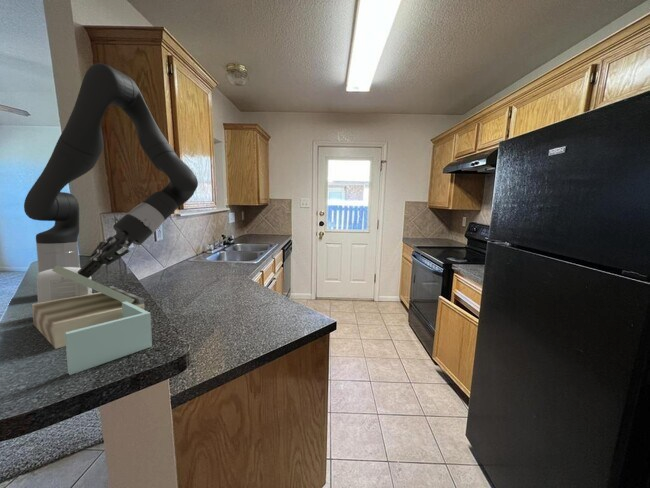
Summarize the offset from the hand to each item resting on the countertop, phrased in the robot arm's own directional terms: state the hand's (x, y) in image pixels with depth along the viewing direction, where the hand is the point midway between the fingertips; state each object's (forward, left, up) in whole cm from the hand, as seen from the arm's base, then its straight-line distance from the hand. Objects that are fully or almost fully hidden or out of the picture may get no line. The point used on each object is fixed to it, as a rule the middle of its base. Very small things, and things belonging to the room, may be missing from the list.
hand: (82, 275), depth 60 cm
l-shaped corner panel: (+17, -2, -13) cm, 22 cm away
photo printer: (-14, 0, -12) cm, 18 cm away
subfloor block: (0, +1, -12) cm, 12 cm away
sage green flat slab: (0, +1, -3) cm, 3 cm away
